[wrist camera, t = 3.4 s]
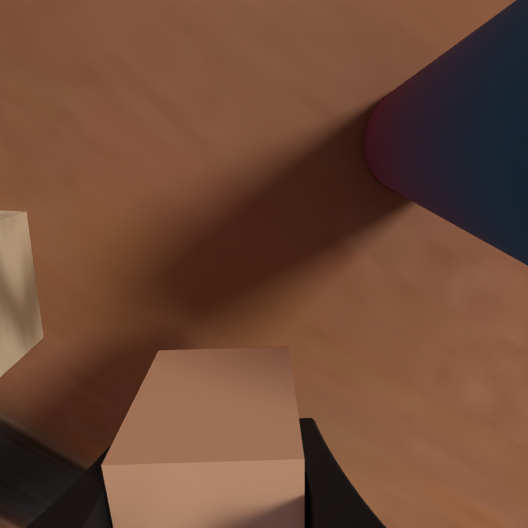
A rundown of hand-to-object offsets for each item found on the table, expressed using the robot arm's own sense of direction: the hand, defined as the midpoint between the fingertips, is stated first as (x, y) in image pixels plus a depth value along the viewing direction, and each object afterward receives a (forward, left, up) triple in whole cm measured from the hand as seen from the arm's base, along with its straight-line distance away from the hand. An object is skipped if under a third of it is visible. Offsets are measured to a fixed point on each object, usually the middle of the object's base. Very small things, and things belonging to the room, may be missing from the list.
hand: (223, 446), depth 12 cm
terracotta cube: (0, 0, -2) cm, 2 cm away
